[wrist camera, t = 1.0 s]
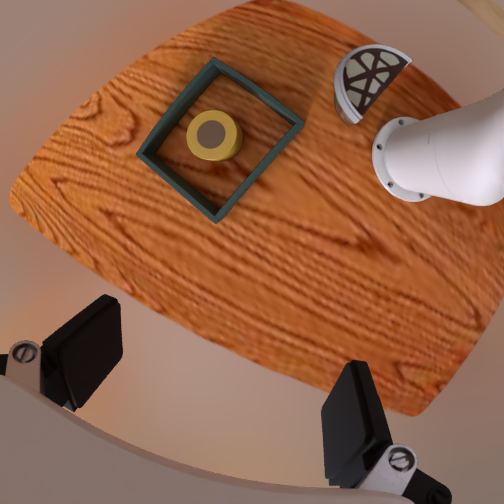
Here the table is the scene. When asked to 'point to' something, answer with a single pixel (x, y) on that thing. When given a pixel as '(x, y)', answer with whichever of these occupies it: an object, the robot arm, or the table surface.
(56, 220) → the table surface
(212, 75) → the dark green rectangular frame
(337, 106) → the food container
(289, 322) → the table surface
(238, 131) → the tape roll
